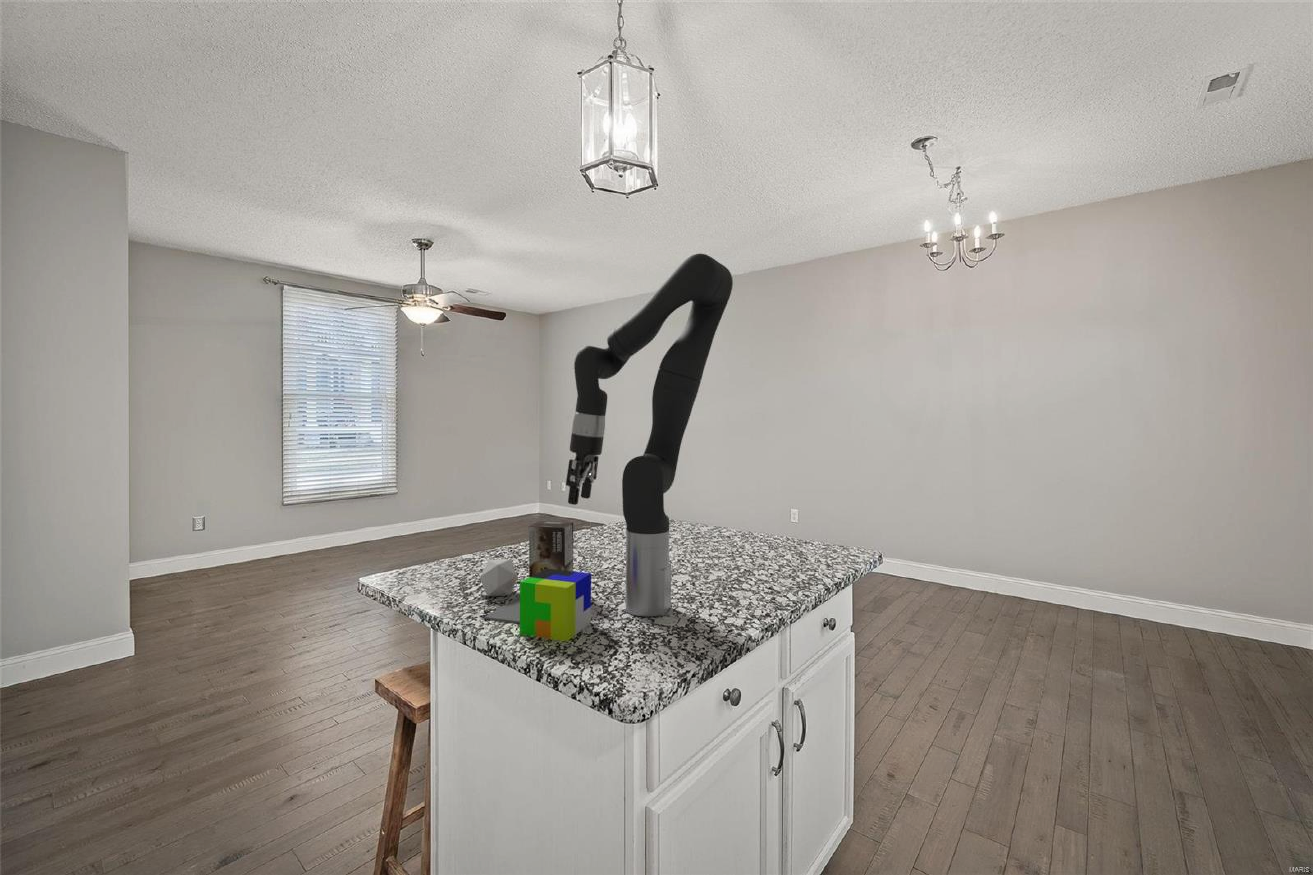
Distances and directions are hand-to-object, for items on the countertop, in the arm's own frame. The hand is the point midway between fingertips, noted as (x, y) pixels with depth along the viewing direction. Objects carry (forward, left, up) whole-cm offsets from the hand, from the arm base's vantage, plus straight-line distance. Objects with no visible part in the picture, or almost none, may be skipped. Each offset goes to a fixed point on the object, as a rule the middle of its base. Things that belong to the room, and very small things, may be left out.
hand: (579, 500), depth 127 cm
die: (+17, +7, -22) cm, 28 cm away
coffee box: (+6, +2, -22) cm, 23 cm away
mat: (+6, +14, -21) cm, 27 cm away
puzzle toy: (-5, +22, -22) cm, 32 cm away
